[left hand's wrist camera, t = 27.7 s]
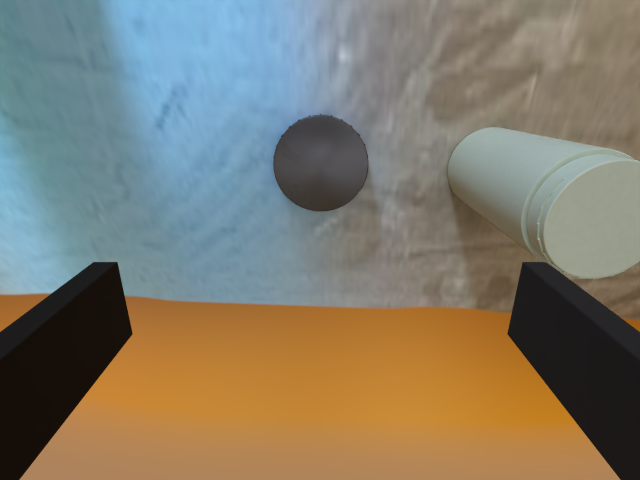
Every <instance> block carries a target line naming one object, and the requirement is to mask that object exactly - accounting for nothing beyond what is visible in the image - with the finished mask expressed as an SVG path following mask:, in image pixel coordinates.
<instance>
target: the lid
mask: <svg viewBox="0 0 640 480" xmlns="http://www.w3.org/2000/svg"><path fill="white" fill-rule="evenodd" d="M281 137H282V138H281V139H280V141H279V143H278V144H277V146H276V151H275V155H274V173H275V177H276V180H277V183H278V185H279V187H280V189H281V190H282V191H283V193H284V194H285V195H286V196H287V197H288V198H289V199H290V200H291V201H292V202H294V203H295V204H297V205H298V206H300V207H302V208H305V209H308V210H313V211H329V210H333V209H337V208H339V207H341V206H343V205H345V204H347V203H348V202H349V201H351V200H352V199H353V198H354V197H355V196H356V195H357V194H358V192H359V191H360V190H361V188H362V186H363V184H364V182H365V179H366V176H367V172H368V155H367V151H366V148H365V144H364V143H363V141H362V139H361V138H360V135H359V134H358V133H357V132H356V131H355V130H354V129H353V128H352V126H351V125H348V124H347V123H346V122H344V121H343V120H342V119H341V120H340V119H338V118H336V117H332V115H331V116H328V115H321V114H320V115H314V116H309V117H306V118H303V119H301V120H300V119H299V120H298V122H296V123H295V124H293V125H292V126H290V127H289V129H288V130H287V131H286V132H285V133H284V134H283V135H282V136H281Z"/></svg>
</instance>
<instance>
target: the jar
mask: <svg viewBox="0 0 640 480" xmlns="http://www.w3.org/2000/svg"><path fill="white" fill-rule="evenodd" d="M447 176H448V182H449V185H450V188H451V190H452V191H453V193H454V194H455V195H456V196H457V197H458V198H459V199H460V200H461V201H463V202H464V203H465V204H466V205H468V206H469V207H470V208H472V209H473V210H474V211H476V212H477V213H478V214H480V215H481V216H482V217H484V218H485V219H486V220H487V221H489V222H490V223H491V224H493V225H494V226H495V227H497V228H498V229H499V230H501V231H502V232H503V233H504V234H506V235H507V236H508V237H510V238H511V239H512V240H514V241H515V242H516V243H518V244H519V245H520V246H522V247H523V248H524V249H525V250H527V251H528V252H529V253H531V254H532V255H533V256H535V257H536V258H537V259H539V260H540V261H542V262H547V263H548V264H549V265H551V266H553V267H555V268H556V269H558V270H559V271H561V272H562V273H564V274H567V275H570V276H573V277H576V278H586V279H598V278H603V277H608V276H609V277H612V276H614V275H616V274H619V273H621V272H623V271H626V270H627V269H628V268H630V267H632V266H634V265H635V264H637V263H638V262H639V261H640V161H637V160H634V159H633V158H631V157H630V156H629V155H627V154H624V153H622V152H619V151H616V150H612V149H607V148H602V147H597V146H592V145H586V144H581V143H576V142H571V141H566V140H561V139H556V138H550V137H545V136H540V135H535V134H530V133H525V132H519V131H514V130H509V129H504V128H498V127H489V128H484V129H480V130H478V131H475V132H473V133H471V134H470V135H468V136H467V137H465V138H464V139H463V140H462V141H461V142H460V143H459V144H458V145H457V147H456V148H455V150H454V151H453V153H452V155H451V157H450V160H449V164H448V170H447Z"/></svg>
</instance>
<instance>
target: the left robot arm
mask: <svg viewBox="0 0 640 480" xmlns="http://www.w3.org/2000/svg"><path fill="white" fill-rule="evenodd" d="M131 335H132V329H131V325H130V320H129V315H128V310H127V306H126V301H125V296H124V291H123V287H122V282H121V277H120V273H119V268H118V263H117V262H93V263H92V264H91V265H89V266H88V267H87V268H85V269H84V270H83V271H81V272H80V273H79V274H77V275H76V276H75V277H73V278H72V279H71V280H69V281H68V282H67V283H65V284H64V285H63V286H61V287H60V288H59V289H57V290H56V291H55V292H53V293H52V294H51V295H49V296H48V297H47V298H45V299H44V300H43V301H41V302H40V303H39V304H37V305H36V306H35V307H33V308H32V309H31V310H29V311H28V312H27V313H25V314H24V315H23V316H21V317H20V318H19V319H17V320H16V321H15V322H13V323H12V324H11V325H9V326H8V327H6V328H5V329H4V330H2V331H1V332H0V480H19V479H20V478H21V477H22V476H23V474H24V473H25V472H26V470H27V469H28V468H29V467H30V465H31V464H32V463H33V461H34V460H35V459H36V458H37V456H38V455H39V454H40V452H41V451H42V450H43V449H44V447H45V446H46V445H47V443H48V442H49V441H50V439H51V438H52V437H53V436H54V434H55V433H56V432H57V430H58V429H59V428H60V427H61V425H62V424H63V423H64V422H65V420H66V419H67V418H68V416H69V415H70V414H71V412H72V411H73V410H74V409H75V407H76V406H77V405H78V403H79V402H80V401H81V400H82V398H83V397H84V396H85V394H86V393H87V392H88V391H89V389H90V388H91V387H92V385H93V384H94V383H95V382H96V380H97V379H98V378H99V376H100V375H101V374H102V373H103V371H104V370H105V369H106V367H107V366H108V365H109V364H110V362H111V361H112V360H113V358H114V357H115V356H116V355H117V353H118V352H119V351H120V349H121V348H122V347H123V345H124V344H125V343H126V342H127V340H128V339H129V338H130V337H131ZM508 335H509V337H510V338H511V339H512V340H513V342H514V343H515V344H516V346H517V347H518V348H519V349H520V351H521V352H522V353H523V355H524V356H525V357H526V358H527V360H528V361H529V362H530V364H531V365H532V366H533V367H534V369H535V370H536V371H537V373H538V374H539V375H540V376H541V378H542V379H543V380H544V382H545V383H546V384H547V385H548V387H549V388H550V389H551V391H552V392H553V393H554V394H555V396H556V397H557V398H558V400H559V401H560V402H561V403H562V405H563V406H564V407H565V409H566V410H567V411H568V412H569V414H570V415H571V416H572V418H573V419H574V420H575V422H576V423H577V424H578V425H579V427H580V428H581V429H582V430H583V432H584V433H585V434H586V436H587V437H588V438H589V440H590V441H591V442H592V443H593V445H594V446H595V447H596V449H597V450H598V451H599V452H600V454H601V455H602V456H603V457H604V459H605V460H606V461H607V463H608V464H609V465H610V467H611V468H612V469H613V470H614V472H615V473H616V474H617V476H618V477H619V478H620V479H621V480H640V332H639V331H637V330H636V329H635V328H634V327H632V326H631V325H629V324H628V323H627V322H626V321H624V320H623V319H621V318H620V317H619V316H617V315H616V314H615V313H613V312H612V311H611V310H609V309H608V308H607V307H605V306H604V305H603V304H601V303H600V302H599V301H597V300H596V299H595V298H593V297H592V296H591V295H589V294H588V293H587V292H585V291H584V290H583V289H581V288H580V287H579V286H577V285H576V284H575V283H573V282H572V281H571V280H569V279H568V278H567V277H565V276H564V275H563V274H561V273H560V272H559V271H557V270H556V269H555V268H553V267H552V266H551V265H549V264H548V263H547V262H523V263H522V268H521V273H520V277H519V282H518V287H517V291H516V296H515V301H514V306H513V310H512V315H511V320H510V325H509V329H508Z"/></svg>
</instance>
